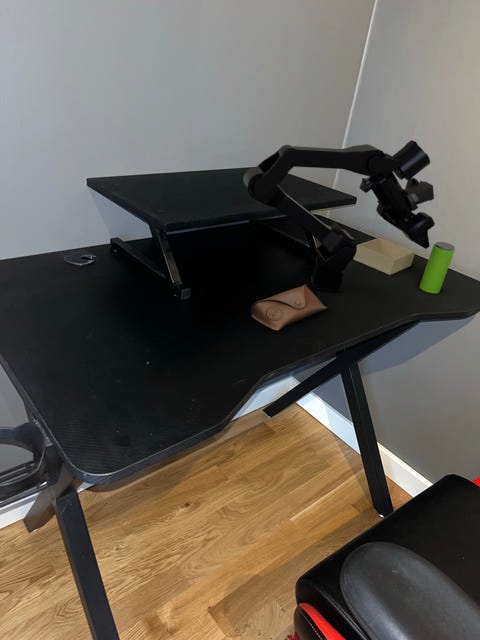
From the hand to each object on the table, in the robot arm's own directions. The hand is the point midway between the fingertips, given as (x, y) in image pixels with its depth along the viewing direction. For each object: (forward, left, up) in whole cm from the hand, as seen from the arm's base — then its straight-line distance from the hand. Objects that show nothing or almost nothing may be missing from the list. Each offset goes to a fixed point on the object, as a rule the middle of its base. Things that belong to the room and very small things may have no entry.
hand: (418, 240), depth 113 cm
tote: (-1, +16, -13) cm, 21 cm away
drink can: (+8, +1, -13) cm, 15 cm away
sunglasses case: (-31, -20, -13) cm, 39 cm away
